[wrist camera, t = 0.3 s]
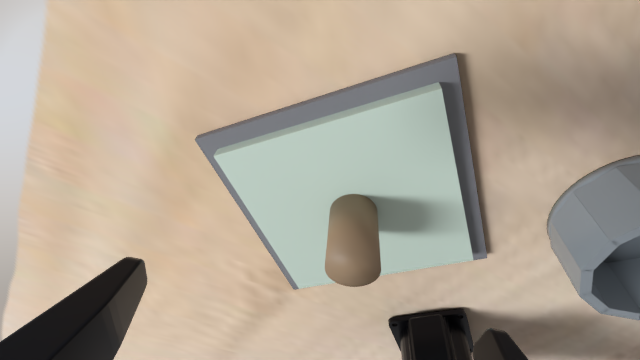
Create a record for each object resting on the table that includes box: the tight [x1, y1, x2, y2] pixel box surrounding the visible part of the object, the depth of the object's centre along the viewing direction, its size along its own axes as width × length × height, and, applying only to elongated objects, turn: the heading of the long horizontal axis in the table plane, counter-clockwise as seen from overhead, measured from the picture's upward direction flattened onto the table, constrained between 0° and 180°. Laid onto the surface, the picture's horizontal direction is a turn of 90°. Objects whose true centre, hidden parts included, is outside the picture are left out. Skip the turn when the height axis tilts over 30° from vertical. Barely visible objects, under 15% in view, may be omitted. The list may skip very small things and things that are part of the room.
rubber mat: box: [195, 53, 487, 289], centre depth 23 cm, size 15×15×1 cm
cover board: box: [214, 82, 473, 289], centre depth 21 cm, size 13×13×5 cm
